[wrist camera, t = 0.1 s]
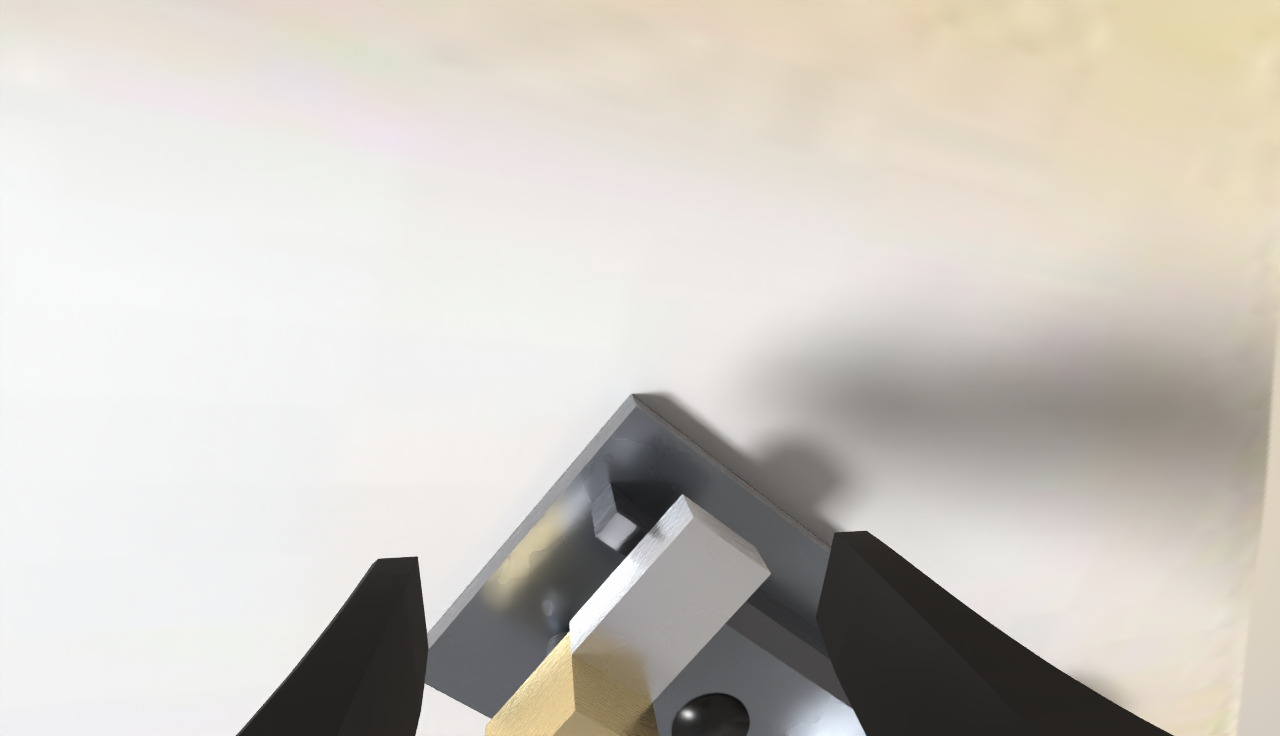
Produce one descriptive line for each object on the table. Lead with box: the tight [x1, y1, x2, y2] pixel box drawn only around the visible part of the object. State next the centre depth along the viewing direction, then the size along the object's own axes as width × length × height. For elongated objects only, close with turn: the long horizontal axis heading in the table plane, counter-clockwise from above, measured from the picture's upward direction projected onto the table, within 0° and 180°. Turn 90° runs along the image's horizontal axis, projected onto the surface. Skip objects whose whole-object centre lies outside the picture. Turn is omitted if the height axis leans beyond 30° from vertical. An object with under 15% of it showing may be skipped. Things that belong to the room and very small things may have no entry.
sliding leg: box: [485, 494, 771, 736], centre depth 19 cm, size 9×3×5 cm, turn 139°
